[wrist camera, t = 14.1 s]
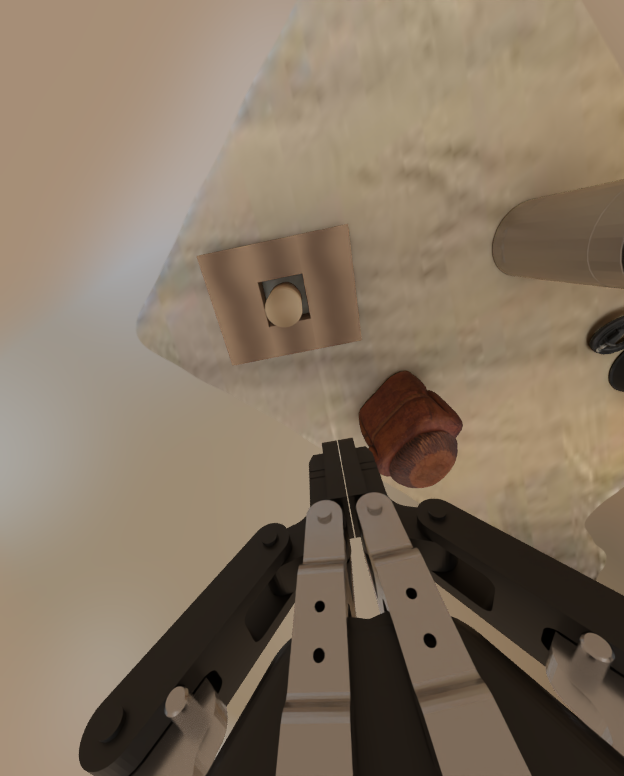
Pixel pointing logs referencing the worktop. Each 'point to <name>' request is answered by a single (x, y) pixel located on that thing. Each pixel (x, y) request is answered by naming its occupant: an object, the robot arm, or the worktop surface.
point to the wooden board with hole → (276, 260)
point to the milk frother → (611, 349)
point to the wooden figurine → (410, 431)
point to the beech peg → (284, 305)
